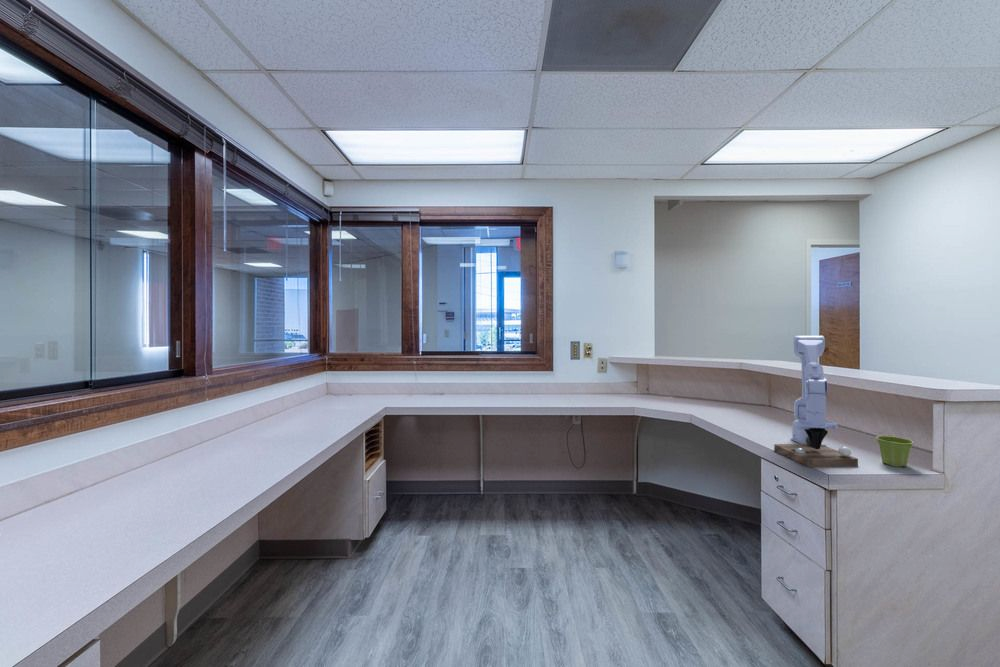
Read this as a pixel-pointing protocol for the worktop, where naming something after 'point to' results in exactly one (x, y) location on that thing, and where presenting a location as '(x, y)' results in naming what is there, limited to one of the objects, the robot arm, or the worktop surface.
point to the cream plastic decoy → (844, 451)
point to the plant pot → (894, 450)
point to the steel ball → (800, 450)
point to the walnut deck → (815, 455)
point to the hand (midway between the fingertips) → (815, 448)
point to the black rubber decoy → (808, 441)
